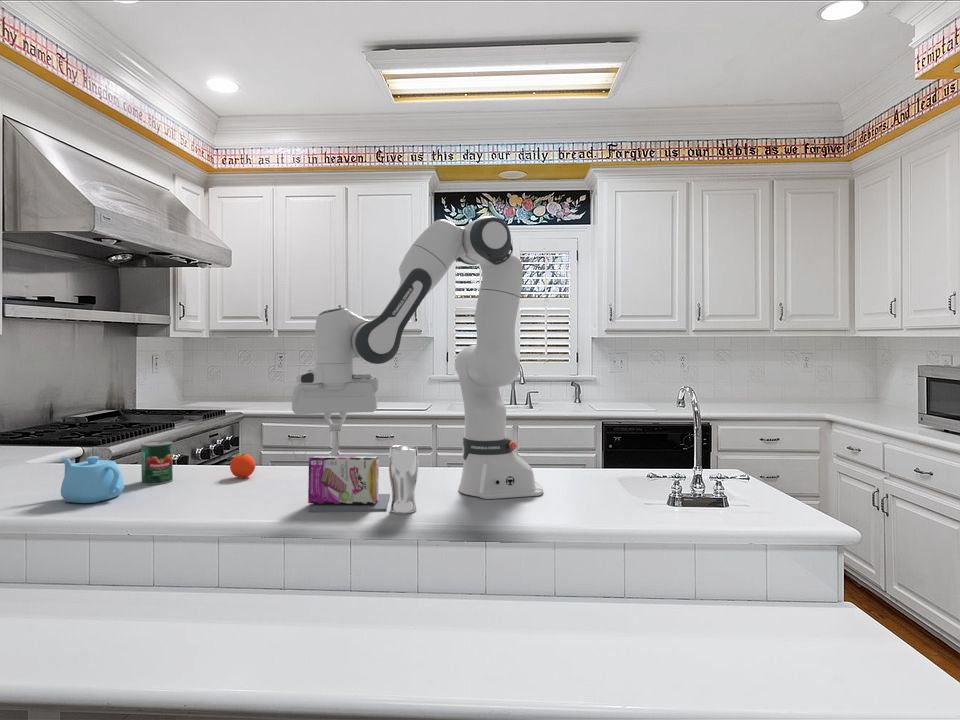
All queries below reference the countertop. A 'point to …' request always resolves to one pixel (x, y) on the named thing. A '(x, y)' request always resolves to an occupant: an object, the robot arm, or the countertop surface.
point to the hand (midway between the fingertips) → (335, 431)
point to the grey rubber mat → (353, 506)
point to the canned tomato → (156, 462)
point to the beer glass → (403, 478)
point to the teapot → (91, 480)
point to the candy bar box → (343, 479)
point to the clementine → (242, 465)
